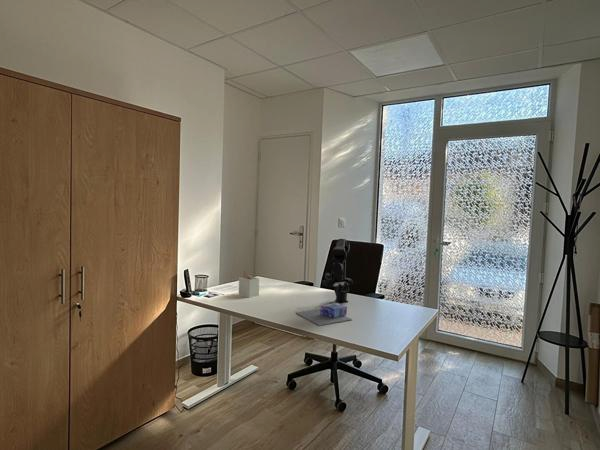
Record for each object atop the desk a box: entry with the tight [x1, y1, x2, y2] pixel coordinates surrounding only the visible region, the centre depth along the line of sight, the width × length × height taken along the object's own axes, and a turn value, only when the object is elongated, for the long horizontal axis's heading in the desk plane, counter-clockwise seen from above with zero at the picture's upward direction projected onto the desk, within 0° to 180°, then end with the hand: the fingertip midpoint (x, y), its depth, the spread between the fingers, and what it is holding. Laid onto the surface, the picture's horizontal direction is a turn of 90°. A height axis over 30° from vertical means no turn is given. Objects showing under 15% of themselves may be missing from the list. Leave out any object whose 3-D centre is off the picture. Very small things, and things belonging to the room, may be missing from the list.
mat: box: [295, 308, 353, 327], centre depth 201 cm, size 22×24×1 cm
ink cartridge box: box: [319, 302, 348, 319], centre depth 203 cm, size 10×6×14 cm
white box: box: [238, 271, 260, 299], centre depth 243 cm, size 9×11×17 cm
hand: (337, 296), depth 206 cm, fingers closed
